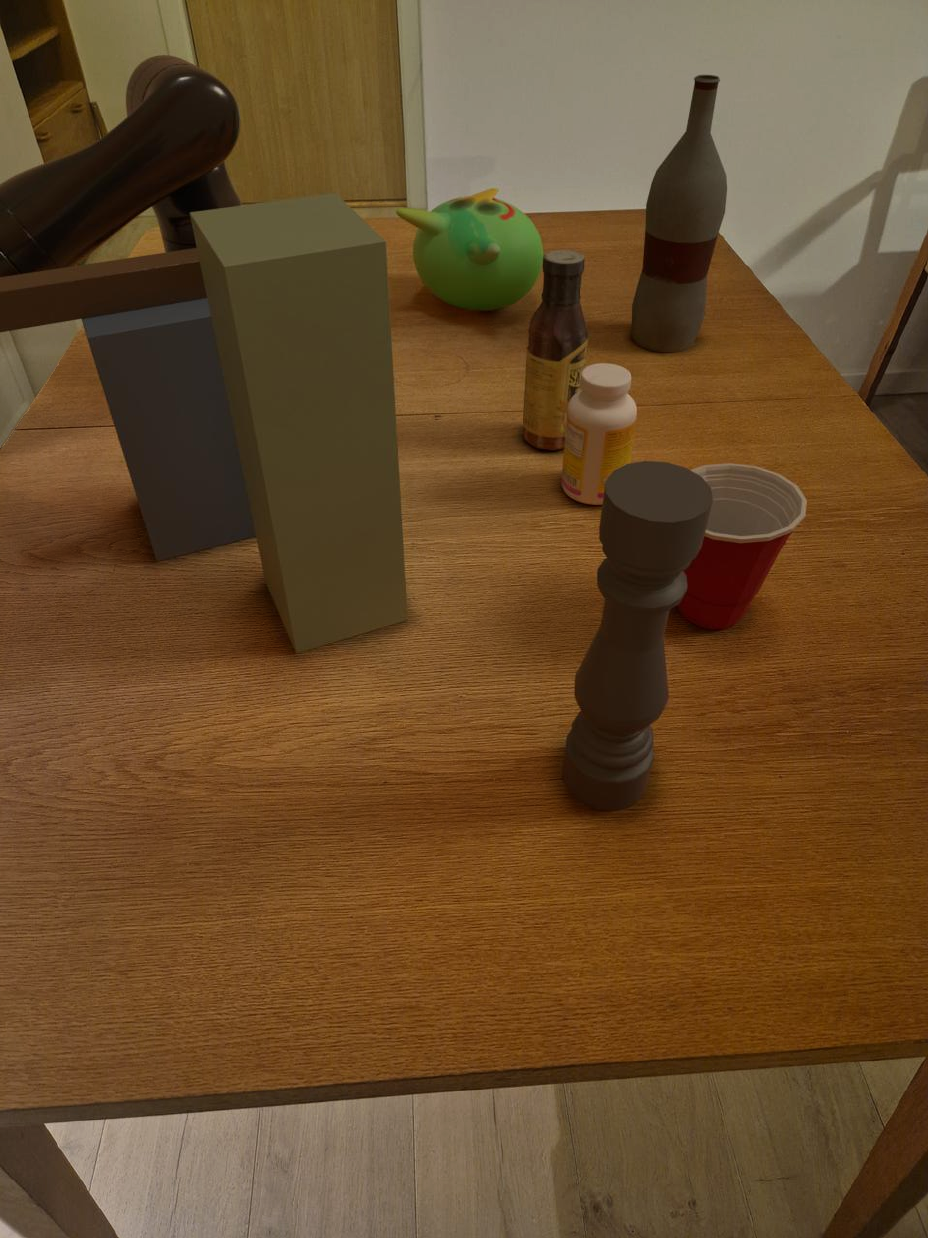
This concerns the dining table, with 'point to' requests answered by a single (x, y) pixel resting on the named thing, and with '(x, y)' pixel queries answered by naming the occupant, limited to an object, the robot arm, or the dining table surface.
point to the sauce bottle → (555, 351)
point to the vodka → (681, 232)
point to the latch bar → (99, 289)
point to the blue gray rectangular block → (173, 424)
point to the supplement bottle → (597, 431)
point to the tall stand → (311, 406)
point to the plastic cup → (738, 541)
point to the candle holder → (632, 628)
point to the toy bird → (476, 251)
